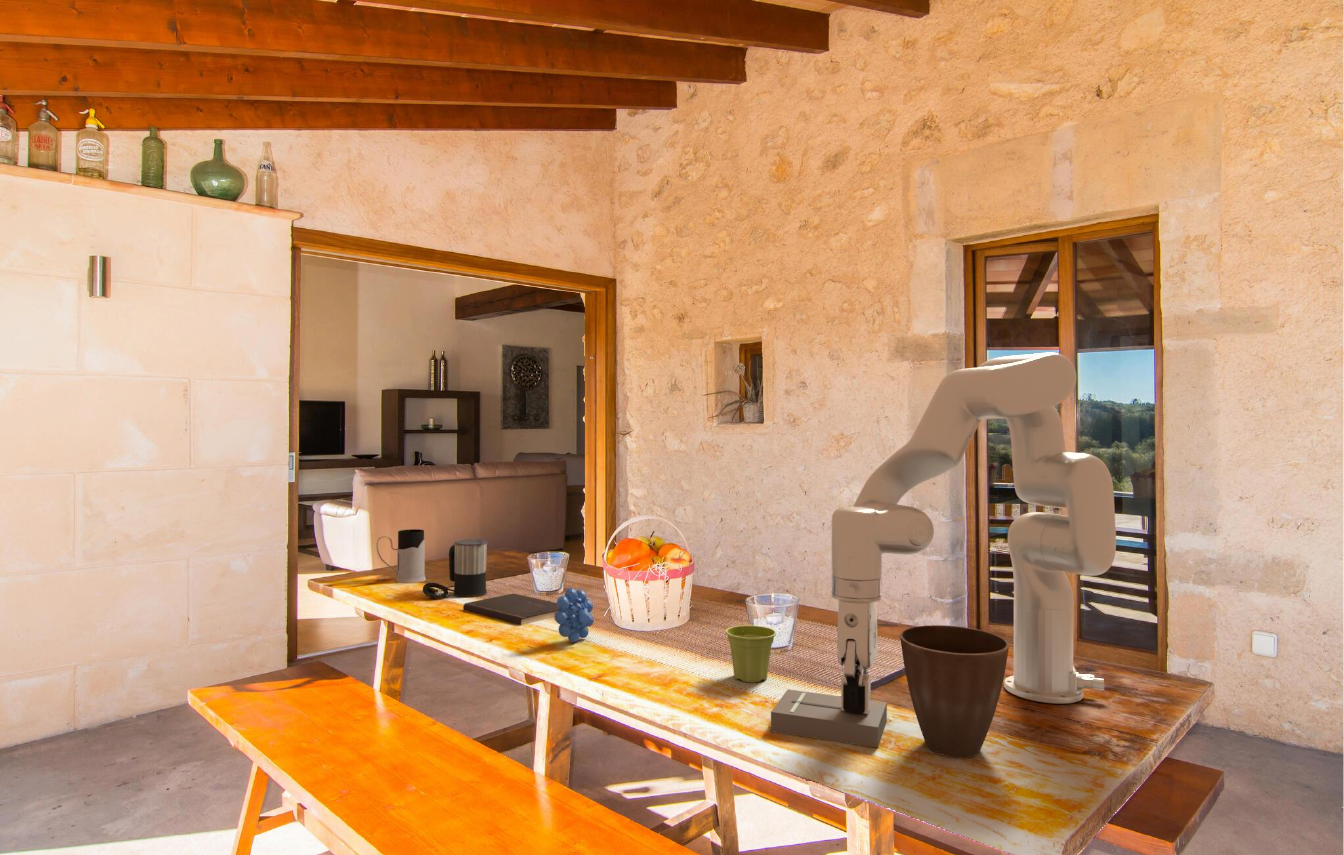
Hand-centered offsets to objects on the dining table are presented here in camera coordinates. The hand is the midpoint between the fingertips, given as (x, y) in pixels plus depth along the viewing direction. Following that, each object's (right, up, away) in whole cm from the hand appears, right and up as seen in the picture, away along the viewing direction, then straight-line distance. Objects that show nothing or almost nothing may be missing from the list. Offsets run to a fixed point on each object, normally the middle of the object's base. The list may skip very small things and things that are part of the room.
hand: (855, 705), depth 119 cm
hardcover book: (-67, -4, +76) cm, 102 cm away
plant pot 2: (+13, -4, -6) cm, 15 cm away
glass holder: (-110, -4, +115) cm, 159 cm away
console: (-4, -4, +2) cm, 5 cm away
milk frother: (-88, -4, +94) cm, 129 cm away
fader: (0, 0, 0) cm, 0 cm away
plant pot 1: (-14, -4, +25) cm, 29 cm away
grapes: (-49, -4, +48) cm, 68 cm away
